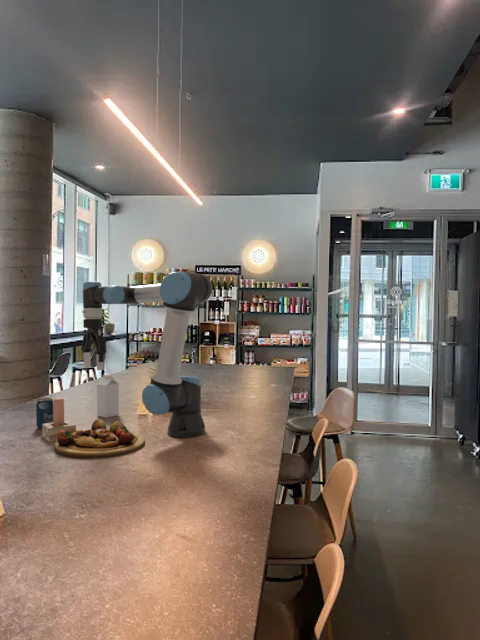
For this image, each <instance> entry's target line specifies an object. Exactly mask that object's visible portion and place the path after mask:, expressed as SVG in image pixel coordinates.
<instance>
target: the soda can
mask: <svg viewBox="0 0 480 640" xmlns="http://www.w3.org/2000/svg"><path fill="white" fill-rule="evenodd" d="M35 406H36V410H35V411H36V415H35V417H36V428H37V429H39V430H42V424H44V423H52V422H53V398H50V397H49V398H47V397H45V398H39V399H37V402H36V405H35Z"/></svg>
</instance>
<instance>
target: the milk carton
mask: <svg viewBox="0 0 480 640" xmlns="http://www.w3.org/2000/svg"><path fill="white" fill-rule="evenodd" d="M119 387H120V386H119V383H118V382H117V381H116V380H115V379H114V377H113V375H105V374H102V378H101V379H99V381H98V382H97V384H96V409H97V410H96V414H97V415H96V416H97V417H101V418H105V419H106V418H112V417H115V416H116V417H117V416H119V415H120V405H119V403H120V400H119V399H120V397H119V395H120V394H119V392H120V391H119V390H120V389H119Z"/></svg>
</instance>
